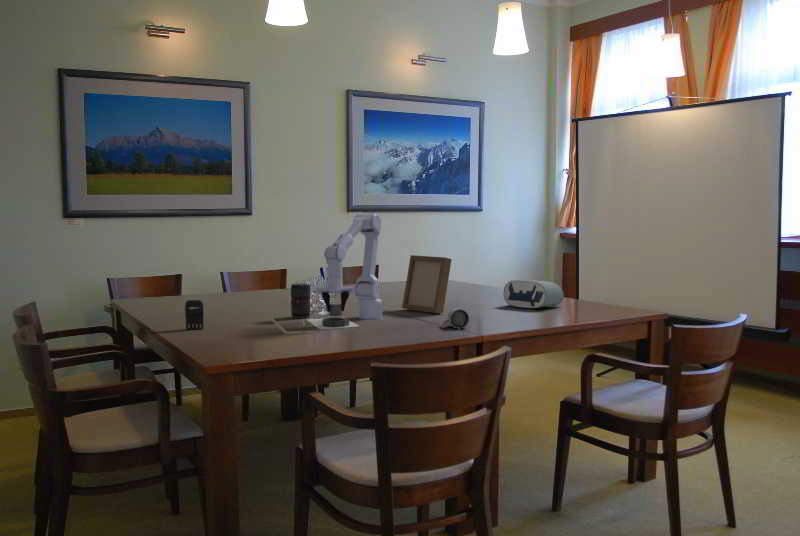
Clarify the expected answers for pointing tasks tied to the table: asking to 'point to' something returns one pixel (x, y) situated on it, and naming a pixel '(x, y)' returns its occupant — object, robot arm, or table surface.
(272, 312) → the table surface
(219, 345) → the table surface
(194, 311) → the black battery charger
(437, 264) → the photo frame
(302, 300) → the camera lens
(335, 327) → the board
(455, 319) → the ceramic mug
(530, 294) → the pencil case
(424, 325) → the table surface
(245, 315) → the table surface
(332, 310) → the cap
